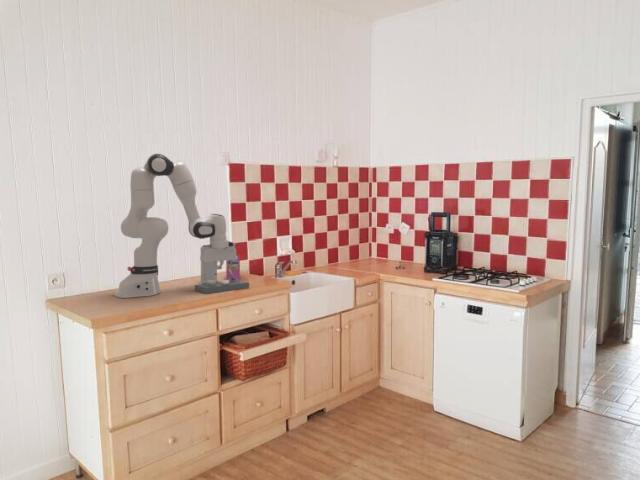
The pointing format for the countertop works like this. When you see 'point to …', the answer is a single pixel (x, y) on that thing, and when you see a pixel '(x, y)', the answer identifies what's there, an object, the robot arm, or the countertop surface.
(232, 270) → the gum box
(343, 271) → the countertop surface
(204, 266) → the skincare box
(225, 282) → the cream button
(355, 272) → the countertop surface
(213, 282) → the grey button
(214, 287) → the panel
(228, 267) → the lever
